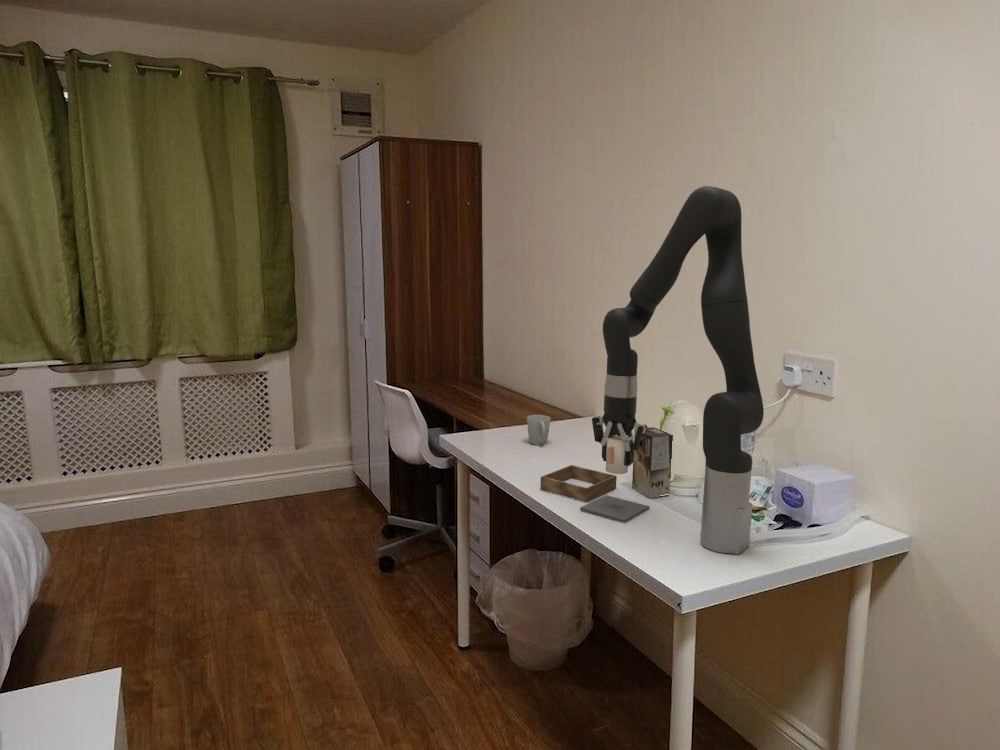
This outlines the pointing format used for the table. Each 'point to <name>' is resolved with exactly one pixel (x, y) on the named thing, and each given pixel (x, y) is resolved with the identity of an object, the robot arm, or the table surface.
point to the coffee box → (653, 464)
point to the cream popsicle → (615, 455)
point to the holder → (557, 486)
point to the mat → (615, 508)
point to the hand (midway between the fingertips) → (617, 462)
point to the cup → (538, 429)
